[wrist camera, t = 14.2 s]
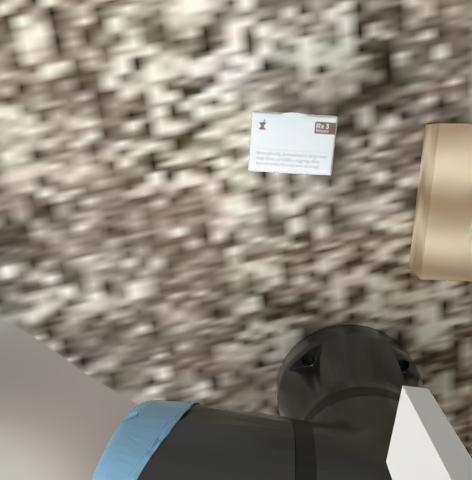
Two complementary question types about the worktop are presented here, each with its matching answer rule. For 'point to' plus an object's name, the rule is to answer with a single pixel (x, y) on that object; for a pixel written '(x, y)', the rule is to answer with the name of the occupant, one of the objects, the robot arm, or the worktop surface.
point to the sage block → (470, 233)
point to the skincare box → (292, 143)
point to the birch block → (444, 205)
